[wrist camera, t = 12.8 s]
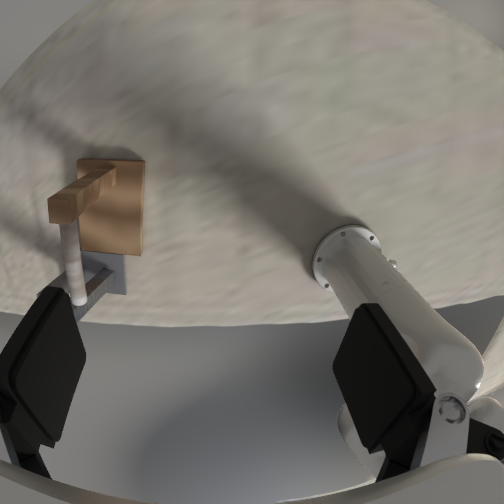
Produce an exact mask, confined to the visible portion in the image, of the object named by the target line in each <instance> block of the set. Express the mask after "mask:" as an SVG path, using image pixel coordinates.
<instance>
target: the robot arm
mask: <svg viewBox="0 0 504 504" xmlns="http://www.w3.org/2000/svg"><path fill="white" fill-rule="evenodd" d="M381 252H382V251H381V245H380V242H379V240H378V238H377V237H376V235H375V234H374V233H373V232H372V231H370V230H369V229H367V228H365V227H363V226H359V225H348V226H344V227H341V228H338V229H336V230H334V231H333V232H331V233H330V234H328V235H327V236H326V237H325V238H324V239H323V240H322V242H321V243H320V244H319V246H318V247H317V249H316V251H315V254H314V257H313V262H312V270H313V274H314V277H315V279H316V281H317V282H318V284H319V285H320V286H321V287H322V288H323V289H325V290H327V291H329V292H333V293H335V294H336V296H337V297H338V299H339V301H340V303H341V304H342V306H343V308H344V309H345V311H346V313H347V315H348V316H349V318H350V320H351V321H350V323H349V326H348V328H347V331H346V333H345V336H344V338H343V341H342V343H341V345H340V348H339V350H338V352H337V355H336V357H335V359H334V362H333V372H334V375H335V377H336V379H337V382H338V385H339V387H340V390H341V392H342V395H343V397H344V400H345V402H346V403H345V404H344V405H343V406H342V407H341V409H340V411H339V413H338V416H337V426H338V430H339V433H340V435H341V437H342V439H343V441H344V443H345V444H346V446H347V447H348V448H349V449H350V451H351V452H352V453H353V454H354V455H355V456H356V458H357V459H358V460H359V461H360V462H361V463H362V464H363V465H364V466H365V467H366V468H367V469H368V470H369V471H370V472H371V473H372V474H373V475H374V477H375V478H376V481H375V483H373V484H369V485H366V486H363V487H359V488H356V489H352V490H348V491H344V492H340V493H336V494H331V495H327V496H322V497H317V498H311V499H306V500H299V501H293V502H285V503H278V504H504V408H503V406H502V405H501V404H500V403H499V402H498V401H496V400H495V399H493V398H490V397H481V398H478V399H476V400H475V401H473V402H471V403H470V404H469V405H467V404H466V403H467V402H468V401H469V400H470V398H471V397H472V396H473V395H474V394H475V392H476V391H477V389H478V388H479V386H480V384H481V382H482V379H483V375H484V362H483V359H482V356H481V354H480V353H479V351H478V350H477V348H476V347H475V346H474V345H473V344H472V343H471V342H470V341H469V340H468V339H467V338H466V337H465V336H464V335H462V334H461V333H460V332H459V331H458V330H456V329H455V328H454V327H452V326H451V325H450V324H449V323H448V322H447V321H446V320H444V319H443V318H442V317H441V316H440V315H439V314H438V313H437V312H436V311H435V310H434V309H433V308H432V307H431V306H430V305H429V304H428V303H427V302H426V301H425V299H424V298H423V297H422V296H421V295H420V294H419V293H418V292H417V291H416V290H415V289H414V288H413V287H412V285H411V284H410V283H409V282H408V281H407V280H406V279H405V278H404V277H403V276H402V275H401V274H400V273H399V272H398V271H397V270H396V269H395V267H396V261H395V260H388V259H387V258H386V257H385V256H384V255H383V254H382V253H381ZM85 362H86V352H85V349H84V346H83V343H82V339H81V336H80V333H79V330H78V326H77V323H76V320H75V316H74V312H73V309H72V305H71V301H70V297H69V295H68V293H65V290H64V289H63V288H61V287H53V286H46V287H45V288H44V290H43V291H42V292H41V294H40V295H39V296H38V298H37V299H36V301H35V302H34V303H33V305H32V306H31V308H30V309H29V310H28V312H27V313H26V315H25V316H24V318H23V319H22V321H21V322H20V324H19V325H18V327H17V328H16V330H15V331H14V333H13V334H12V336H11V338H10V339H9V341H8V343H7V344H6V346H5V347H4V349H3V351H2V352H1V354H0V504H157V503H149V502H141V501H136V500H130V499H124V498H119V497H114V496H109V495H105V494H100V493H96V492H92V491H88V490H85V489H81V488H77V487H74V486H71V485H68V484H64V483H61V482H58V481H55V480H52V478H51V476H50V474H49V472H48V470H47V468H46V466H45V464H44V462H43V460H42V457H41V455H40V453H39V447H40V444H42V445H45V446H48V447H51V448H54V446H55V442H57V441H59V440H60V438H61V435H62V431H63V428H64V424H65V421H66V417H67V414H68V411H69V407H70V405H71V402H72V398H73V395H74V393H75V390H76V387H77V384H78V381H79V378H80V375H81V372H82V370H83V367H84V365H85Z"/></svg>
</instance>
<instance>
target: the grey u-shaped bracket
mask: <svg viewBox="0 0 504 504" xmlns="http://www.w3.org/2000/svg"><path fill="white" fill-rule="evenodd" d="M82 269H83V276H84V279H85V274H84V267H82ZM115 283H116V279H115V271H114V270H110V269H107V268H103V269H102V270H100V271H99V272H98V273H97V274H96V275H95V276H94V277H93V278H91V279H90V280H89V281H88V282H87V283H86V284H85V289H86V294H87V302H86V303H85V304H84V305H81V306H76V305H74V304H73V303H72V301H71V297H70V301H71V305H72V309H73V312H74V316H75V320H76V323H78V322H79V320H80V319H81V318H82V317H83V316H84V315H85V314H86V313H87V312H88V311H89V310H90V309H91V308H92V307H93V306H94V304H95V303H96V302H97V301H98V300H99V299H100V298H101V297H102V296H103V295H104V294H105V293H106V292H107V291H108V290H109V289H110V288H111V287H112V286H113V285H114V284H115ZM47 286H53V287H61V288H63V289H64V290H65V293H68V294H69V293H70V291H69V286H68V281H67V275H66V271H65V272H63V273H62V274H61V275H60V276H58V277H57V278H56V279H55V280H53V281H52V282H51V283H50V284H49V285H47ZM43 290H44V289H43ZM43 290H41V291H40V292H39V293H38V294H37V298H38V296H39V295H40V294H41V292H42V291H43Z"/></svg>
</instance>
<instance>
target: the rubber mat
mask: <svg viewBox="0 0 504 504" xmlns="http://www.w3.org/2000/svg"><path fill="white" fill-rule="evenodd" d="M80 253H81V261H82V267H84V274H85V279H84V282H85V284H86V283H87V282H88V281H89V280H90V279H91V278H93V277H94V276H95V275H96V274H97V273H98V272H99V271H100V270H102V269H103V268H107V269H110V270H114V271H115V279H116V283H115V284H114V285H113V286H112V287H111V288H110V289H109V290H108V291H107V292H106V293H114V294H122V295H126V293H127V290H126V278H125V261H124V254H114V253H104V252H95V251H85V250H81V249H80Z"/></svg>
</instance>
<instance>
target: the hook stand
mask: <svg viewBox="0 0 504 504" xmlns="http://www.w3.org/2000/svg"><path fill="white" fill-rule="evenodd" d="M144 170H145V161H141V160H119V159H79V160H77V180H76V181H75V182H73V183H71V184H70V185H68V186H67V187H65V188H63V189H62V190H60V191H59V192H57V193H56V194H54V195H53V196H51V197H50V198H48V199H47V200H48V213H49V223H55V224H60V233H61V242H62V250H63V257H64V263H65V269H66V275H67V281H68V286H69V291H70V296H71V301H72V303H73V304H74V305H76V306H81V305H84V304H85V303H86V302H87V294H86V289H85V282H84V276H83V269H82V261H81V253H80V244H79V233H78V221H77V217H78V216H79V228H80V240H81V250H85V251H95V252H104V253H114V254H124V255H135V256H141V254H142V215H143V187H144Z"/></svg>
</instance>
